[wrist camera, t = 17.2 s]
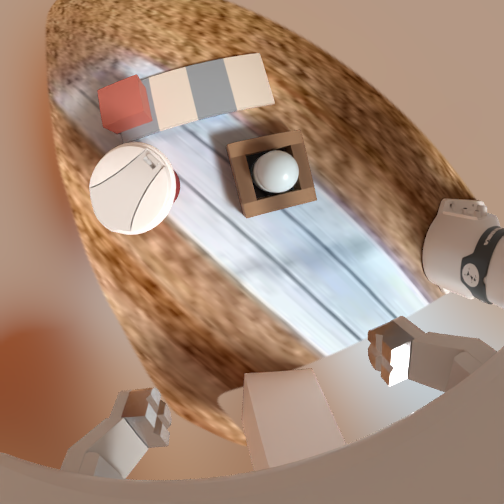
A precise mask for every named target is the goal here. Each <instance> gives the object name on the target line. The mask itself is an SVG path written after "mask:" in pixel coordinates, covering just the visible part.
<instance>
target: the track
mask: <svg viewBox="0 0 504 504" xmlns="http://www.w3.org/2000/svg"><path fill="white" fill-rule="evenodd" d="M141 82H142V83H143V85H144V86H145V88H146V92H147V97H148V101H149V106H150V111H151V116H152V120H153V121H151V122H148V123H145V124H143V125H140V126H137V127H134V128H132V129H129V130H126V131H124V132H121V135H122V140H123V143H129V142H131V141H134V140H137V139H140V138H142V137H145V136H148V135H151V134H154V133H157V132H160V131H163V130H166V129H170V128H173V127H176V126H180V125H183V124H187V123H190V122H194V121H197V120H201V119H205V118H209V117H213V116H217V115H221V114H226V113H230V112H235V111H240V110H245V109H250V108H255V107H261V106H266V105H273V104H275V102H274V98H273V95H272V91H271V88H270V85H269V81H268V78H267V75H266V71H265V68H264V65H263V62H262V59H261V56H260V53H254V54H247V55H240V56H234V57H228V58H223V59H218V60H213V61H208V62H204V63H199V64H195V65H191V66H187V67H183V68H179V69H176V70H172V71H169V72H165V73H162V74H159V75H156V76H152V77H149V78H146V79H144V80H141Z"/></svg>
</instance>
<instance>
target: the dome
mask: <svg viewBox="0 0 504 504" xmlns="http://www.w3.org/2000/svg"><path fill="white" fill-rule="evenodd" d="M298 175H299V168H298V165H297V162H296V161H295V159H294V158H293V157H292V156H291V155H290V154H288V153H286V152H283V151H271V152H268V153H266V154H264V155H262V156H261V157H259V158H258V159H257V160H256V161H255V162H254V163H253V165H252V168H251V177H252V180H253V182H254V184H255V185H256V186H257V187H258V188H259V189H261V190H263V191H267V192H275V193H280V192H285V191H287V190H289V189H290V188H292V187H293V186H294V185H295V183H296V181H297V179H298Z"/></svg>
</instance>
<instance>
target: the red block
mask: <svg viewBox="0 0 504 504" xmlns="http://www.w3.org/2000/svg"><path fill="white" fill-rule="evenodd" d="M97 92H98V99H99V106H100V112H101V118H102V124H103V127H104V128H106V129H108V130H110V131H112V132H114V133H116V134H119V133H121V132H124V131H126V130H129V129H132V128H134V127H137V126H140V125H143V124H145V123H148V122H151V121H153V120H152V116H151V111H150V106H149V101H148V97H147V92H146V88H145V86H144V85H143V83H142V82H141V80H140V79H139V77H138V76H137V75H134V76H131V77H128V78H126V79H123V80H121V81H118V82H116V83H113V84H111V85H108V86H106V87H104V88H102V89H99V90H97Z"/></svg>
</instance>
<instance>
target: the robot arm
mask: <svg viewBox="0 0 504 504" xmlns="http://www.w3.org/2000/svg"><path fill="white" fill-rule="evenodd" d="M423 268H424V272H425V274H426V276H427V278H428V280H429V281H430V282H432V283H433V284H436V285H438V286H439V287H440V289H441V291H442V292H443V293H445V294H448V293H450V292H453V293H456V294H459V295H461V296H464V297H466V298H469V299H473V298H474V297H475V298H477V299H479V300H480V301H482V302H485V303H488V304H495V305H497V306H499V307H500V308H502V309H504V228H501V227H500V224H499V221H498V219H497V217H496V215H493V214H489V213H487V206H485V205H484V203H483V202H482V201H479V200H466V199H449V198H444V199H443V200H442V201H441V204H440V207H439V210H438V214H437V216H436V218H435V219H434V221H433V222H432V224H431V226H430V228H429V230H428V232H427V235H426V238H425V242H424V247H423ZM368 340H369V341H370V342H371V344H370V346H369V348H368V356H369V360H370V362H371V364H372V366H373V368H374V369H375V370H378V371H381V377H382V379H383V380H384V381H385V382H386V383H387V385H388V386H391V385H394V384H396V383H398V382H400V381H402V380H404V379H406V378H408V379H410V380H413V381H415V382H418V383H421V384H423V385H426V386H429V387H432V388H434V389H437V390H440V391H443V392H445V393H444V394H443V395H441V396H439V397H438V398H436V399H435V400H433V401H432V402H430V403H428V404H427V405H425V406H423V407H422V408H420V409H418V410H417V411H415V412H413V413H411V414H410V415H408V416H406V417H404V418H402V419H401V420H399V421H397V422H395V423H393V424H391V425H389V426H387V427H385V428H383V429H380V430H378V431H376V432H374V433H372V434H370V435H367V436H365V437H363V438H361V439H358V440H356V441H353V442H351V443H348V444H346V445H343V446H341V447H338V448H335V449H333V450H330V451H327V452H324V453H321V454H318V455H315V456H312V457H309V458H305V459H302V460H299V461H295V462H291V463H288V464H284V465H280V466H276V467H272V468H267V469H262V470H258V471H253V472H247V473H242V474H235V475H229V476H221V477H213V478H202V479H189V480H165V481H164V480H129V479H125V478H126V477H127V476H128V474H129V473H130V472H131V471H132V469H133V468H134V467H135V466H136V464H137V463H138V462H139V460H140V459H141V458H142V456H143V455H144V454H145V453H146V451H147V450H148V448H152V447H165V446H168V443H169V435H170V433H169V432H168V430H167V428H168V427H169V426H170V425H171V414H170V410H169V408H168V406H167V404H166V403H165V402H163V401H162V400H160V397H161V394H160V393H159V391H158V389H156V388H146V389H135V390H126V391H121V392H119V394H118V396H117V399H116V401H115V404H114V407H113V409H112V412H111V414H110V417H109V418H107V419H105V420H104V421H102V422H101V423H100V424H99V425H97V426H96V427H95V428H94V429H93V430H91V431H90V432H89V433H88V434H86V435H85V436H84V437H83V438H82V439H80V440H79V441H78V442H76V443H75V444H74V445H73V446H72V447H70V448H69V449H68V451H67V454H66V456H65V459H64V461H63V464H62V466H61V469H60V470H58V469H54V468H50V467H46V466H42V465H39V464H35V463H32V462H29V461H25V460H22V459H19V458H17V457H13V456H11V455H8V454H5V453H0V504H504V346H503V347H502V348H501V349H500V350H499V351H498V352H497V351H495V350H494V349H493V348H491V347H490V346H489V345H487V344H486V343H484V342H483V341H481V340H480V339H477V338H468V337H461V336H453V335H446V334H439V333H432V332H428V333H425V332H423V331H422V330H421V329H419V328H418V327H417V326H416V325H414V324H413V323H412V322H410V321H409V320H408V319H406V318H405V317H403V316H400V317H398V318H396V319H394V320H391V321H390V322H388V323H385V324H383V325H381V326H378V327H376V328H374V329H371V330H369V332H368Z"/></svg>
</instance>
